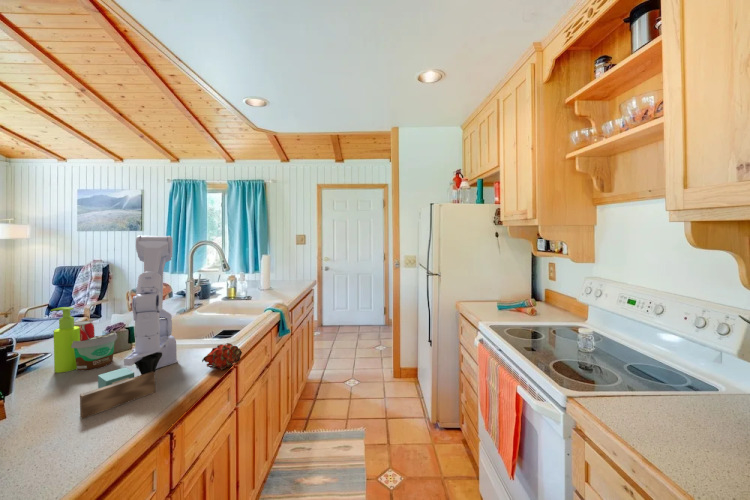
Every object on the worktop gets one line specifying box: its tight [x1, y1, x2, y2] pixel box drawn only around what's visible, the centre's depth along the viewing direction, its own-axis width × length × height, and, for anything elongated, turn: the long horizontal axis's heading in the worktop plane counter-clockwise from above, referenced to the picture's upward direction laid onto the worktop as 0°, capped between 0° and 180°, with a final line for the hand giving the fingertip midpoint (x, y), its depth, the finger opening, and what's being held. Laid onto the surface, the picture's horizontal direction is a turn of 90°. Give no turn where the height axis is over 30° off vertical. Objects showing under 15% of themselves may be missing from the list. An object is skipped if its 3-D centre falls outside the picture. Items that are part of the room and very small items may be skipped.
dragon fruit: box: [201, 342, 243, 371], centre depth 100 cm, size 8×8×12 cm
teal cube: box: [97, 366, 135, 389], centre depth 81 cm, size 6×6×6 cm
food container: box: [71, 329, 118, 372], centre depth 99 cm, size 12×6×10 cm, turn 168°
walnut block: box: [79, 371, 156, 420], centre depth 77 cm, size 15×2×6 cm, turn 148°
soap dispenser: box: [50, 306, 80, 374], centre depth 96 cm, size 6×7×20 cm
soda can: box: [74, 320, 96, 341], centre depth 107 cm, size 7×7×12 cm
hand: (148, 379), depth 88 cm, fingers closed
